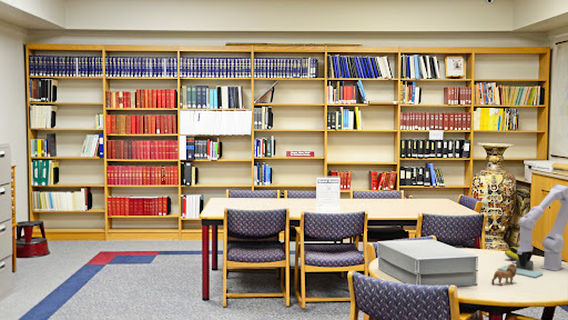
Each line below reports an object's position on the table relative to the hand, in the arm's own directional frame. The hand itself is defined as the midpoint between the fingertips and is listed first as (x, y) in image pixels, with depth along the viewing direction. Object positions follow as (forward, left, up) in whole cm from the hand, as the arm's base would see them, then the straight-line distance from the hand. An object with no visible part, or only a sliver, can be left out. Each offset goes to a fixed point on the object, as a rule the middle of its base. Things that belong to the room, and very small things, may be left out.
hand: (524, 265), depth 283 cm
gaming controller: (-17, -12, -2) cm, 21 cm away
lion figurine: (+33, +5, -2) cm, 33 cm away
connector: (0, 0, -2) cm, 2 cm away
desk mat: (+9, +2, -2) cm, 9 cm away
